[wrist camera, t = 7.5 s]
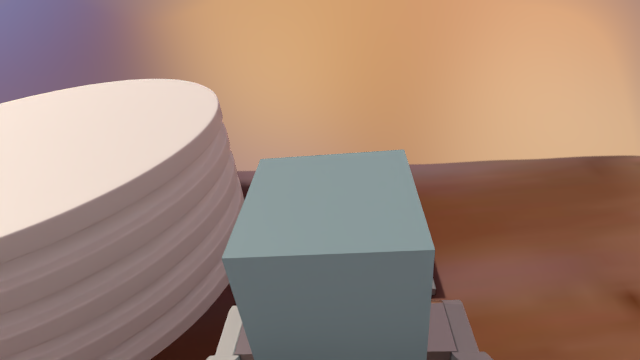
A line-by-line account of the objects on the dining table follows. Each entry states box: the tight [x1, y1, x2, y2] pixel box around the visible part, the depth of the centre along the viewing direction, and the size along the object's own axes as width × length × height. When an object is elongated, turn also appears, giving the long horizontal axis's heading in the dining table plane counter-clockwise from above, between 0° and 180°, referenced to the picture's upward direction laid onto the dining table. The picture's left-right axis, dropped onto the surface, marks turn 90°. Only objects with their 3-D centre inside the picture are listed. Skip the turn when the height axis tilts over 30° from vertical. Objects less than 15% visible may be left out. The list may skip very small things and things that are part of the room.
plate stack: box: [0, 79, 244, 360], centre depth 29 cm, size 28×28×12 cm
